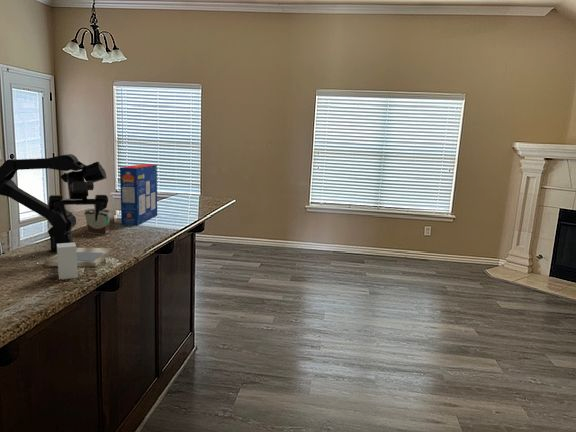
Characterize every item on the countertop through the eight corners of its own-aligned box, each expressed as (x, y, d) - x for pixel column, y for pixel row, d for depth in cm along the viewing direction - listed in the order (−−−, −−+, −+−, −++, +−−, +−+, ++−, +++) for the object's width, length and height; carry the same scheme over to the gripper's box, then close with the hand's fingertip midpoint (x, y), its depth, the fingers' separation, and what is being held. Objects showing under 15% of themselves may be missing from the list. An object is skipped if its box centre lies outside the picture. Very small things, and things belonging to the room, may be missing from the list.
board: (45, 265, 139) (45, 261, 138) (67, 251, 156) (67, 246, 156) (95, 266, 140) (95, 261, 140) (112, 252, 158) (112, 247, 158)
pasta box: (143, 214, 232) (142, 164, 227) (157, 215, 232) (156, 164, 227) (121, 224, 204) (119, 167, 199) (137, 225, 204) (136, 168, 199)
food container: (117, 232, 189) (117, 210, 187) (108, 235, 183) (107, 212, 181) (94, 229, 192) (94, 208, 190) (85, 232, 186) (84, 210, 184)
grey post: (58, 274, 131) (56, 243, 129) (76, 272, 133) (74, 242, 132) (59, 279, 127) (57, 247, 125) (77, 277, 129) (76, 246, 127)
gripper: (48, 171, 142) (52, 209, 135) (107, 172, 152) (113, 208, 145) (46, 191, 150) (50, 228, 143) (102, 191, 160) (109, 225, 153)
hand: (81, 222), depth 146 cm, fingers open, 9 cm apart
